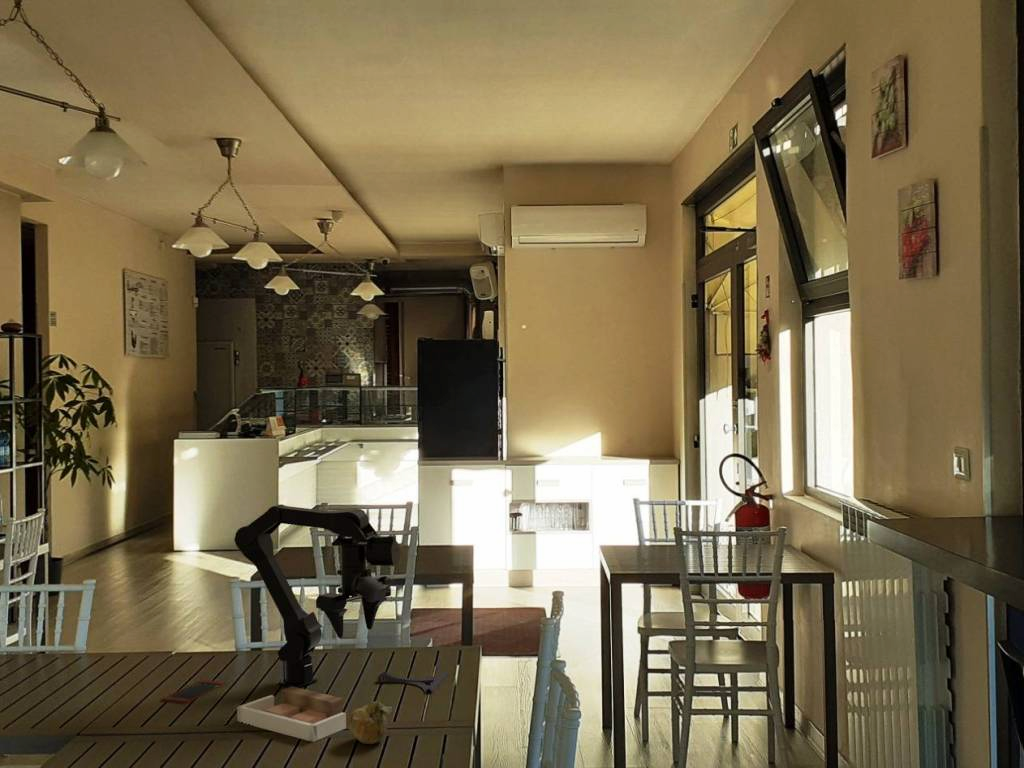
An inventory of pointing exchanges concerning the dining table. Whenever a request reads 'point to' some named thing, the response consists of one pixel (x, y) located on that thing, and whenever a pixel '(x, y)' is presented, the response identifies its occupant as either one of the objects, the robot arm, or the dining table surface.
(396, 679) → the bracket
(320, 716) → the tile
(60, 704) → the dining table surface
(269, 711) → the tile
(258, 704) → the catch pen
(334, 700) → the bar
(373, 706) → the onion
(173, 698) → the smartphone
